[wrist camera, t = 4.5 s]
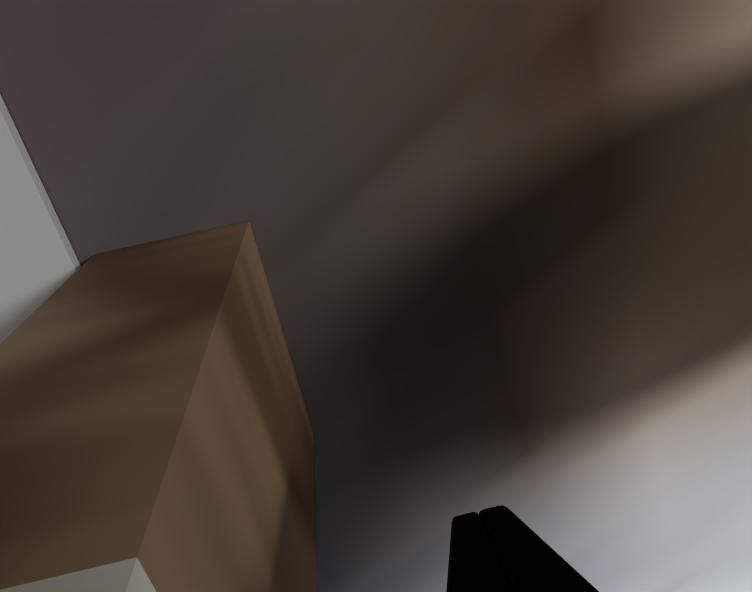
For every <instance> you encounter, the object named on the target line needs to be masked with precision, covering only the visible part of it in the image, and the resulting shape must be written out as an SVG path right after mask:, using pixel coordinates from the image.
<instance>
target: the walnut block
mask: <svg viewBox="0 0 752 592" xmlns="http://www.w3.org/2000/svg"><path fill="white" fill-rule="evenodd" d="M0 592H318V583H317V541H316V499H315V457H314V431H313V428H312V425H311V422H310V418H309V415H308V412H307V409H306V405H305V402H304V399H303V395H302V392H301V389H300V386H299V382H298V379H297V376H296V373H295V369H294V366H293V363H292V359H291V356H290V353H289V350H288V346H287V343H286V340H285V337H284V333H283V330H282V327H281V324H280V320H279V317H278V314H277V310H276V307H275V304H274V301H273V297H272V294H271V291H270V288H269V284H268V281H267V278H266V274H265V271H264V268H263V265H262V261H261V258H260V255H259V252H258V248H257V245H256V242H255V238H254V235H253V232H252V229H251V225H250V222H249V221H245V222H240V223H236V224H231V225H227V226H222V227H218V228H213V229H208V230H204V231H199V232H195V233H190V234H186V235H181V236H177V237H172V238H167V239H163V240H158V241H154V242H149V243H145V244H140V245H136V246H131V247H126V248H122V249H117V250H113V251H108V252H104V253H99V254H95V255H93V256H92V257H91V258H90V259H88V260H87V261H86V262H85V263H84V264H83V265H82V266H81V267H80V268H79V269H78V270H77V271H76V272H75V273H74V274H73V275H72V276H71V277H70V278H69V279H68V280H67V281H65V282H64V283H63V284H62V285H61V286H60V287H59V288H58V289H57V290H56V291H55V292H54V293H53V294H52V295H51V296H50V297H49V298H48V299H47V300H46V301H45V302H44V303H42V304H41V305H40V306H39V307H38V308H37V309H36V310H35V311H34V312H33V313H32V314H31V315H30V316H29V317H28V318H27V319H26V320H25V321H24V322H23V323H22V324H20V325H19V326H18V327H17V328H16V329H15V330H14V331H13V332H12V333H11V334H10V335H9V336H8V337H7V338H6V339H5V340H4V341H3V342H2V343H1V344H0Z"/></svg>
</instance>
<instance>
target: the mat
mask: <svg viewBox="0 0 752 592" xmlns="http://www.w3.org/2000/svg"><path fill="white" fill-rule="evenodd" d="M80 267H81V266H80V264H79V261H78V259H77V257H76V255H75V253H74V251H73V249H72V247H71V244H70V242H69V240H68V238H67V236H66V234H65V232H64V229H63V227H62V225H61V223H60V221H59V219H58V217H57V214H56V212H55V210H54V208H53V206H52V204H51V202H50V200H49V197H48V195H47V193H46V191H45V189H44V187H43V185H42V182H41V180H40V178H39V176H38V174H37V172H36V170H35V168H34V165H33V163H32V161H31V159H30V157H29V155H28V153H27V150H26V148H25V146H24V144H23V142H22V140H21V138H20V135H19V133H18V131H17V129H16V127H15V125H14V123H13V121H12V118H11V116H10V114H9V112H8V110H7V108H6V106H5V103H4V101H3V99H2V97H1V95H0V344H1V343H2V342H3V341H4V340H5V339H6V338H7V337H8V336H9V335H10V334H11V333H12V332H13V331H14V330H15V329H16V328H17V327H18V326H19V325H20V324H22V323H23V322H24V321H25V320H26V319H27V318H28V317H29V316H30V315H31V314H32V313H33V312H34V311H35V310H36V309H37V308H38V307H39V306H40V305H41V304H42V303H44V302H45V301H46V300H47V299H48V298H49V297H50V296H51V295H52V294H53V293H54V292H55V291H56V290H57V289H58V288H59V287H60V286H61V285H62V284H63V283H64V282H65V281H67V280H68V279H69V278H70V277H71V276H72V275H73V274H74V273H75V272H76V271H77V270H78V269H79V268H80Z"/></svg>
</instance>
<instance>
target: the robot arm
mask: <svg viewBox="0 0 752 592" xmlns="http://www.w3.org/2000/svg"><path fill="white" fill-rule="evenodd" d="M447 592H599V591H598V590H597V589H596V588H594V587H593V586H592V585H591V584H590V583H589V582H588V581H587V580H586V579H585V578H584V577H582V576H581V575H580V574H579V573H578V572H577V571H576V570H575V569H574V568H573V567H572V566H570V565H569V564H568V563H567V562H566V561H565V560H564V559H563V558H562V557H561V556H560V555H558V554H557V553H556V552H555V551H554V550H553V549H552V548H551V547H550V546H549V545H548V544H546V543H545V542H544V541H543V540H542V539H541V538H540V537H539V536H538V535H537V534H536V533H535V532H533V531H532V530H531V529H530V528H529V527H528V526H527V525H526V524H525V523H524V522H523V521H521V520H520V519H519V518H518V517H517V516H516V515H515V514H514V513H513V512H512V511H511V510H509V509H508V508H507V507H505V506H502V505H501V506H496V507H492V508H488V509H484V510H481V511H480V513H479V514H478V513H476V512H471V513H467V514H463V515H459V516H455V517H454V518H453V520H452V527H451V540H450V553H449V566H448V579H447Z"/></svg>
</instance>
